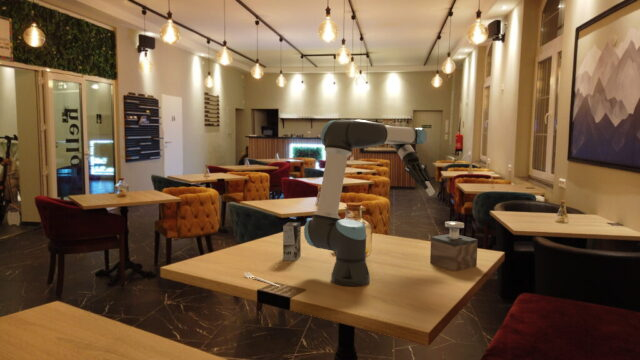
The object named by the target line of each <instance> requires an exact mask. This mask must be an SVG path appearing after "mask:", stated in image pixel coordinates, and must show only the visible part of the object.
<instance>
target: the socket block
mask: <svg viewBox="0 0 640 360" xmlns="http://www.w3.org/2000/svg"><path fill="white" fill-rule="evenodd" d="M449 235H450V233H448V234H441V235H440V234H439V235H435V236H434V235H433V236H431V237H430V255H429V257H430V259H429V263H430V264H433V265H435V266H439V267H441V268H443V269H447V270H450V271H453V272H457V271H460V270H466V269H470V268H475V267H477V263H478V262H477V261H478V244H479V243H478V241H479V240H478V239H477V238H474V237H473V238H472V237H469V236H464V235H460V234H459V239H458V240H452V239H449Z"/></svg>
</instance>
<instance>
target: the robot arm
mask: <svg viewBox="0 0 640 360" xmlns="http://www.w3.org/2000/svg"><path fill="white" fill-rule="evenodd" d="M320 132H321V133H320V134H321V135H320V139H321V143H322V144H321V145H323V146H324V152H325V153H326V160H325V166H324V171H323V176H322V181H321V188H320V194H319V200H318V205H317V209H316V210H315V212H313V213H312V217H311V218H309V219H308V220H307V222H306V223H305V224H304V226H303V235H304V239H305V240H306V242H307V244H308V245H309V246H311V247H314V248H316V249H320V250H321V249H323V250H327V251H332V252H335V263H334V266H333V269H332V272H331V279H330V280H331V282H332V283H333V284H336V285H339V286H344V287H345V286H346V287H359V286H366V285H367V284H369V283H370V281H371V275H370V271H369V268H368V265H367V261H366V260H367V259H366V258H367V257H366V254H367V252H366V251H367V237H368V236H367V228H366V225H365V223H364V222H363V223H362V222H361V221H359V220H355V219H347V218H346V219H345V218H343V219H341V217H340V215H339V210H340V209H339V208H340V204H341V203H340V202H341V199H342V196H341V195H342V191H343V186H344V185H343V184H344V179H345V173H346V168H347V162H348V158H349V157H350V156H351V155H352V154H353V150H354V149H364V148H370V147H371V148H372V147H380V146H382V145H386V144H387V145H388V144H389V145H390V146H391V147H392V148H394V150H395V152H396V153H397V154H398V156H399V157H400V159H401V161H402V162H403V165H404V166H405V167H404V171H405V172H406V173H407V174H408V175H409V176H410V177H411V178H412V179H413V181H414V182H415V183H416V184H417V185H419V186H420V187H423V189H424V190H425V192H426V193H427V195H428V196H429V197H431V196H434V194H435V193H436V191H435V189H434V188H433V185H432V183H431V181H432V180H433V179H432V177H431V175H430V171H429V170H428V166H427V164H424V165H423V164H422V163H421V162H420V157H419V155H418V154H417V152H415V150H414V147H412V145H423V144H425V143H426V141H427V139H428V132H427V130H426V129H425V127H424V128H423V127H406V126H396V125H395V126H391V125H388V124H387V125H385V124H383V123H381V122H374V121H370V120H369V121H368V120H363V119H335V120H330V121H328V122H326V124H324V126H323V127H322V130H321V131H320Z"/></svg>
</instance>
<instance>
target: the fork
mask: <svg viewBox="0 0 640 360" xmlns="http://www.w3.org/2000/svg"><path fill="white" fill-rule="evenodd" d="M243 274H244V276H245V278H247V279H249V277H250V278H252V277H256V278H253V279H254V280H257V281H260V282H262V281H263V283H265V282H266V284H268V283H269V285H273V286H275V285H276V287H278V286H279V287H278V288H280V287H281V285H279V284H276V283H274V282H271V281H269V280H266V279H264V278H261V277H258V276H254V275H253V274H252V273H251V272H249V271H245V272H243Z"/></svg>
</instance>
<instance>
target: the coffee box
mask: <svg viewBox="0 0 640 360" xmlns="http://www.w3.org/2000/svg"><path fill="white" fill-rule="evenodd" d="M301 224H302V222H298V221H297V222H292V221H291V222H289V221H287V223H285V224H284V225H282V229H283V231H282V238H283V239H282V246H283V247H282V260H283V261H291V262H293V261H294V262H296V261H298V260H299V258H300V257H301V252H302V247H301V246H302V243H301V242H302V241H301V237H302V236H301V235H302V234H301V233H302V232H301V230H302V229H301V228H302V226H301Z"/></svg>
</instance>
